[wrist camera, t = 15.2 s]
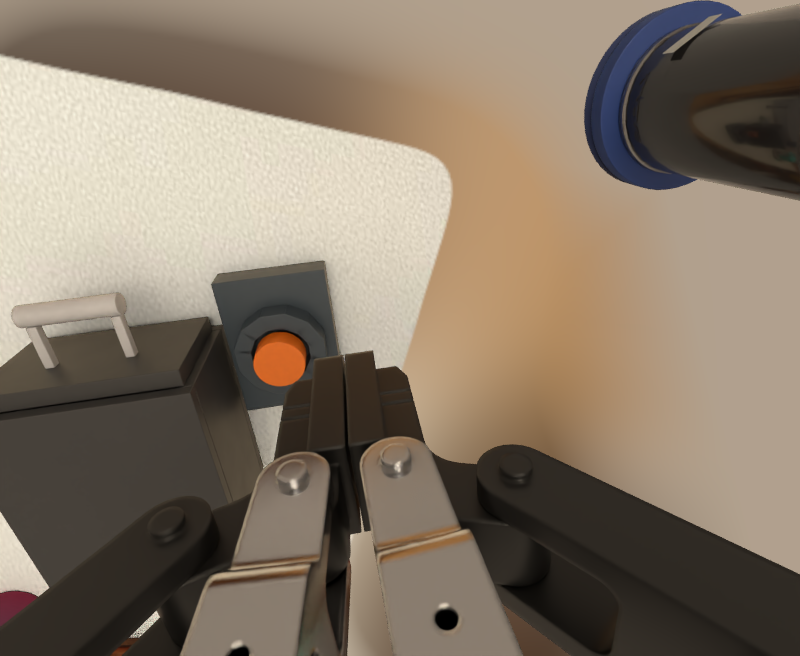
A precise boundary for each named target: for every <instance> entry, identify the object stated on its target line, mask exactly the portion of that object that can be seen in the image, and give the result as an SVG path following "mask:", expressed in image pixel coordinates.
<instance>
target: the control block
mask: <svg viewBox="0 0 800 656" xmlns="http://www.w3.org/2000/svg"><path fill="white" fill-rule="evenodd" d="M211 285H212V289H213V292H214V296H215V299H216V303H217V306H218V310H219V313H220V317H221V320H222V324H223V327H224V331H225V334H226V338H227V341H228V345H229V348H230V352H231V355H232V359H233V362H234V366H235V369H236V373H237V376H238V380H239V384H240V387H241V391H242V394H243V398H244V401H245V405H246V408H247V410H253V409H260V408H267V407H273V406H280V405H283V404H284V398H285V394H286V392H287V391H288V390H289V389H290V388H291V386H292V385H293V384H294V383H295V382H294V383H293V384H290V385H287V386H273V385H270V384H267V383H265V382H264V381H262V380H261V379H260V378H259V377H258V376H257V374H256V373H255V370H254V367H253V359H254V356H255V353H256V349H257V346H258V344H259V342H260V341H261V340H262V339H263V338H264V337H265V336H267V335H269V334H271V333H274V332H287V333H290V334H293V335H295V336H296V337H298V338H299V339H300V340H301V341H302V342H303V344H304V346H305V348H306V366H305V371H304V373H303V375H302V376H301V378H300V379H299V380H297V381H301V380H307V379H312V377H313V364H314V359H318V358H325V357H331V356H338V355H340V351H339V345H338V339H337V333H336V327H335V321H334V315H333V309H332V303H331V297H330V291H329V285H328V279H327V273H326V267H325V261H317V262H309V263H301V264H293V265H286V266H278V267H270V268H262V269H254V270H246V271H238V272H230V273H222V274H217V276H216V278H215V279H214V281H213V282H212V284H211Z"/></svg>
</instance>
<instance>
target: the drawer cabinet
mask: <svg viewBox="0 0 800 656" xmlns="http://www.w3.org/2000/svg"><path fill="white" fill-rule="evenodd" d="M211 328H212V332H211V334H210V336H209V338H208V340H207V342H206V344H205V346H204V348H203V349H202V351H201V353H200V355H199V357H198V359H197V361H196V363H195V365H194V367H193V369H192V371H191V373H190V375H189V377H188V379H187V381H186V383H185V385H184V386H181V387H180V388H175V389H168V390H161V391H155V392H148V393H141V394H134V395H127V396H120V397H113V398H106V399H99V400H93V401H86V402H79V403H72V404H65V405H58V406H51V407H44V408H37V409H31V410H24V411H17V410H14V411H7V412H0V512H1V513H2V515H3V516H4V518H5V519H6V521H7V523H8V524H9V526H10V527H11V529H12V530H13V532H14V533H15V535H16V536H17V538H18V540H19V541H20V543H21V544H22V546H23V547H24V549H25V550H26V552H27V553H28V555H29V557H30V558H31V560H32V561H33V563H34V564H35V566H36V567H37V569H38V570H39V572H40V574H41V575H42V577H43V578H44V580H45V581H46V583H47V584H48V586H49V587H51V586H53V585H54V584H55V583H57V582H58V581H59V580H60V579H62V578H63V577H64V576H65V575H67V574H68V573H69V572H71V571H72V570H73V569H74V568H76V567H77V566H78V565H79V564H81V563H82V562H83V561H85V560H86V559H87V558H88V557H90V556H91V555H92V554H93V553H95V552H96V551H97V550H99V549H100V548H101V547H102V546H104V545H105V544H106V543H107V542H109V541H110V540H111V539H113V538H114V537H115V536H116V535H118V534H119V533H120V532H121V531H123V530H124V529H125V528H127V527H128V526H129V525H130V524H132V523H133V522H134V521H135V520H137V519H138V518H139V517H141V516H142V515H143V514H144V513H146V512H147V511H148V510H150V509H151V508H153V507H155V506H156V505H158V504H160V503H162V502H164V501H167V500H170V499H172V498H176V497H181V496H196V497H200V498H202V499H204V500H205V501H207V502H208V504H209V505H210V508H211V510H214V509H216V508H219V507H221V506H224V505H226V504H228V503H231V502H233V501H236V500H238V499H240V498H242V497H244V496H246V495H248V494H249V493H251V492H252V491H253V490H254V487H255V483H256V480H257V478H258V476H259V474H260V473H261V471H262V470H263V464H262V461H261V457H260V454H259V450H258V447H257V443H256V440H255V436H254V433H253V429H252V426H251V422H250V419H249V415H248V412H247V408H246V405H245V401H244V398H243V394H242V391H241V387H240V384H239V380H238V377H237V373H236V370H235V366H234V362H233V359H232V355H231V352H230V348H229V345H228V341H227V338H226V334H225V331H224V327H223V325H217V326H211ZM16 411H17V412H16Z"/></svg>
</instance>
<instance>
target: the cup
mask: <svg viewBox="0 0 800 656" xmlns="http://www.w3.org/2000/svg"><path fill="white" fill-rule="evenodd" d="M36 598H38V597H37V596H35V595H32V594H30V593H26V592H20V591H10V592H4V593H1V594H0V627H1V626H2V625H3V624H4V623H6V622H7V621H8V620H10V619H11V618H12V617H13V616H15V615H16V614H17V613H18V612H20V611H21V610H22V609H24V608H25V607H26V606H27V605H29V604H30V603H31V602H32V601H34V600H35V599H36Z"/></svg>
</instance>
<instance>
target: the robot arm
mask: <svg viewBox="0 0 800 656" xmlns="http://www.w3.org/2000/svg"><path fill="white" fill-rule="evenodd" d="M720 15H721V14H719V15H714V16H710V17H708V18H707V19H705V20H704V21H703V22H700V23H694V24H689V25H685V26H682V27H679V28H677V29H674V30H672V31H670V32H668V33H667V34H665V35H664V36H662V37H661V38H659V39H658V40H657V41H656V42H654V43H653V44H652V45H651V46H650V47H649V48H648V49H647V50H646V51H645V52H644V54H643V55H642V56H641V57H640V59H639V60H638V61H637V63H636V64H635V66H634V68H633V69H632V71H631V73H630V75H629V77H628V79H627V81H626V84H625V86H624V89H623V92H622V96H621V100H620V106H619V131H620V135H621V139H622V142H623V144H624V147H625V149H626V150H627V152H628V154H629V155H630V156H631V157H632V159H633V160H634V161H635V162H637V163H638V164H639V165H641V166H642V167H644V168H646V169H649V170H652V171H655V172H660V173H666V174H677V175H681V176H686V177H690V178H694V179H700V180H704V181H709V182H713V183H719V184H724V185H728V186H733V187H737V188H742V189H747V190H752V191H756V192H761V193H767V194H771V195H775V196H780V197H785V198H790V199H794V200H799V201H800V4H796V5H791V6H787V7H782V8H777V9H772V10H767V11H763V12H758V13H753V14H747V15H742V16H737V17H731V18H726V19H722V20H717V21H714V20H715V19H716V18H718V17H719V16H720ZM360 510H361V515H362V520H363V525H364V531H371V532H372V538H373V545H374V551H375V556H376V562H377V568H378V573H379V579H380V584H381V590H382V596H383V601H384V607H385V613H386V618H387V624H388V629H389V635H390V640H391V646H392V652H393V656H523V653H522V651H521V648H520V646H519V644H518V641H517V639H516V636H515V634H514V632H513V629H512V627H511V624H510V622H509V620H508V617H507V615H506V612H505V610H504V607H503V605H504V606H506V607H507V608H508V609H510V610H511V611H512V612H514V613H515V614H516V615H518V616H519V617H520V618H522V619H523V620H524V621H526V622H527V623H528V624H530V625H531V626H532V627H534V628H535V629H536V630H538V631H539V632H540V633H542V634H543V635H544V636H546V637H547V638H548V639H550V640H551V641H552V642H554V643H555V644H556V645H558V646H559V647H561V648H562V649H563V650H564V651H565V652H567V653H568V654H569V655H571V656H800V574H798V573H796V572H794V571H792V570H789V569H787V568H785V567H783V566H781V565H779V564H777V563H775V562H772V561H770V560H768V559H766V558H764V557H762V556H760V555H757V554H755V553H753V552H751V551H749V550H747V549H745V548H743V547H741V546H739V545H736V544H734V543H732V542H730V541H728V540H726V539H724V538H722V537H720V536H717V535H715V534H713V533H711V532H709V531H707V530H705V529H703V528H700V527H698V526H696V525H694V524H692V523H690V522H688V521H686V520H683V519H681V518H679V517H677V516H675V515H673V514H671V513H669V512H667V511H664V510H662V509H660V508H658V507H656V506H654V505H652V504H649V503H647V502H645V501H643V500H641V499H639V498H637V497H635V496H633V495H630V494H628V493H626V492H624V491H622V490H620V489H618V488H616V487H613V486H612V485H609V484H607V483H605V482H603V481H601V480H599V479H597V478H595V477H592V476H590V475H588V474H586V473H584V472H582V471H580V470H578V469H575V468H573V467H571V466H569V465H567V464H565V463H563V462H561V461H559V460H556V459H554V458H552V457H550V456H548V455H546V454H544V453H541V452H540V451H537V450H535V449H532V448H530V447H526V446H522V445H502V446H497V447H495V448H492V449H490V450H488V451H487V452H485V453H484V454H483V455H482V456H481V457H480V459H479V461H478V463H477V464H465V463H457V462H452V461H448V460H445V459H442V458H440V457H439V456H437V455H435V454H434V453H433V452H431V451H430V450H429V448H428V447H427V445H426V444H425V441H424V438H423V434H422V430H421V426H420V423H419V419H418V415H417V411H416V407H415V404H414V401H413V396H412V392H411V389H410V385H409V381H408V377H407V375H405V374H404V373H403V372H402V371H401V370H400V369H399V368H398V367H396V366H394V367H388V368H381V369H376V367H375V361H374V354H373V350H372V351H365V352H358V353H351V354H345V362H344V357H343V355H338V356H331V357H325V358H318V359H314V364H313V377H312V379H307V380H301V381H295V383H294V384H293V385H292V386H291V388H290V389H289V390H288V391H287V392H286V394H285V398H284V404H283V411H282V415H281V422H280V427H279V433H278V439H277V445H276V451H275V457H274V461H273V462H271V463H270V464H268V465H267V466H266V467H265V468H264V469H263V470H262V471H261V473H260V474H259V476H258V478H257V480H256V483H255V487H254V490H253V491H252V492H251V493H249V494H248V495H246V496H244V497H242V498H240V499H238V500H236V501H233V502H231V503H228V504H226V505H224V506H221V507H219V508H216V509H214V510H211V508H210V505H209V504H208V502H207V501H205V500H204V499H202V498H200V497H196V496H181V497H176V498H172V499H170V500H167V501H164V502H162V503H160V504H158V505H156V506H155V507H153V508H151V509H150V510H148V511H147V512H146V513H144V514H143V515H142V516H141V517H139V518H138V519H137V520H135V521H134V522H133V523H132V524H130V525H129V526H128V527H127V528H125V529H124V530H123V531H121V532H120V533H119V534H118V535H116V536H115V537H114V538H113V539H111V540H110V541H109V542H107V543H106V544H105V545H104V546H102V547H101V548H100V549H99V550H97V551H96V552H95V553H93V554H92V555H91V556H90V557H88V558H87V559H86V560H85V561H83V562H82V563H81V564H79V565H78V566H77V567H76V568H74V569H73V570H72V571H71V572H69V573H68V574H67V575H65V576H64V577H63V578H62V579H60V580H59V581H58V582H57V583H55V584H54V585H53V586H51V587H50V588H49V589H48V590H46V591H45V592H44V593H43V594H41V595H40V596H39V597H38V598H36V599H35V600H34V601H32V602H31V603H30V604H29V605H27V606H26V607H25V608H24V609H22V610H21V611H20V612H18V613H17V614H16V615H15V616H13V617H12V618H11V619H10V620H8V621H7V622H6V623H4V624H3V625H2V626H1V627H0V656H110V655H111V654H112V653H113V652H114V651H115V650H116V649H117V648H118V647H119V646H120V645H121V644H122V643H123V642H125V641H126V640H127V639H128V638H129V637H130V636H131V635H132V634H133V633H134V632H135V631H136V630H137V629H138V628H139V627H140V626H141V625H142V624H143V623H144V622H145V621H146V620H147V619H148V618H149V617H150V616H151V615H152V614H153V613H154V612H155V611H156V610H157V612H158V614H159V616H160V618H159V619H158V620H157V621H156V622H155V623H154V624H153V625H152V626H151V627H150V628H149V629H148V630H147V631H146V632H145V633H144V634H143V635H142V636H141V637H140V638H139V639H138V640H137V641H136V642H135V643H134V644H133V645H132V646H131V647H130V648H129V649H128V650H127V651H126V652H125V653H124V654H123V655H122V656H347V647H348V626H349V606H350V585H351V564H350V560H349V558H350V534H355V533H360V532H361V518H360ZM502 604H503V605H502Z"/></svg>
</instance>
